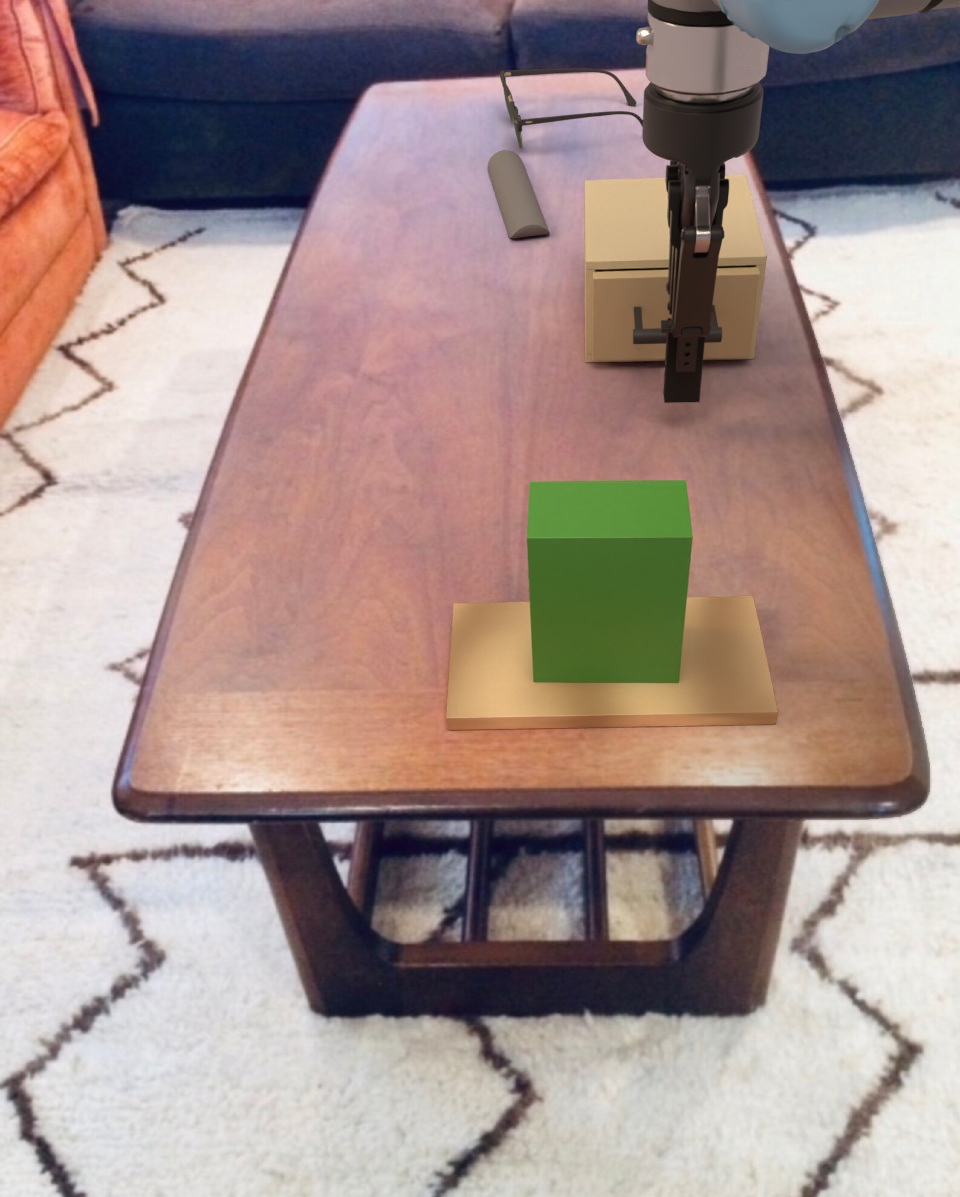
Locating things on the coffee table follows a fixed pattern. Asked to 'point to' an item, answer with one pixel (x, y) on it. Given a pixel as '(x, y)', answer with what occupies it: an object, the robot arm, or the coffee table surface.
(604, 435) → the coffee table surface
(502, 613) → the board
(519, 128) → the sunglasses
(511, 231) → the half round rod
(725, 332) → the drawer
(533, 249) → the coffee table surface
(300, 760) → the coffee table surface
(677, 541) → the tall green block
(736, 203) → the cabinet
